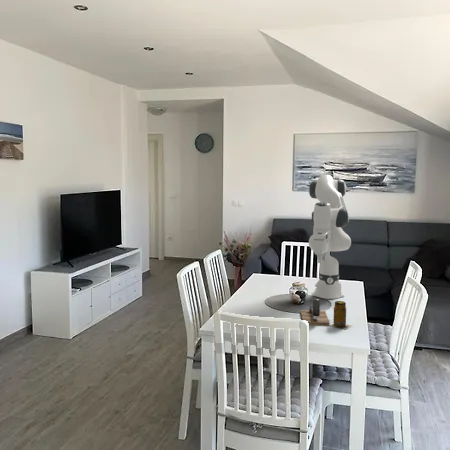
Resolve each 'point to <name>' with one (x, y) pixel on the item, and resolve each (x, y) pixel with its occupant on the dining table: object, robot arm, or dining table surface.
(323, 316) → the board
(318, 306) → the lever
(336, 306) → the condiment
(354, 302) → the dining table surface
